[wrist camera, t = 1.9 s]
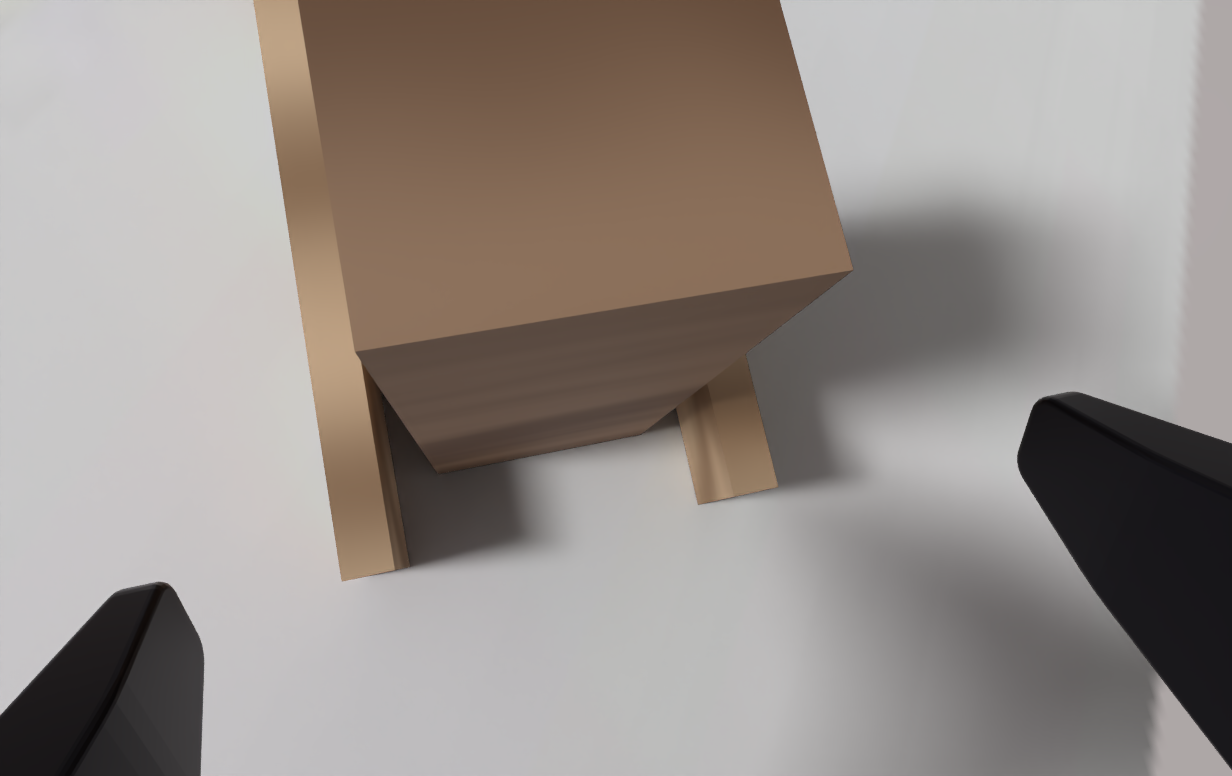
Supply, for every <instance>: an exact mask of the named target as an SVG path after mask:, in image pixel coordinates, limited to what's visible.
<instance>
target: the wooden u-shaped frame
mask: <svg viewBox="0 0 1232 776" xmlns="http://www.w3.org/2000/svg"><path fill="white" fill-rule="evenodd" d="M254 7H255V14H256V20H257V27H258V33H259V40H260V47H261V53H262V60H263V66H264V73H265V80H266V86H267V93H268V99H269V106H270V112H271V119H272V126H273V132H274V139H275V145H276V152H277V159H278V165H279V172H280V178H281V185H282V191H283V198H284V205H285V211H286V218H287V224H288V231H289V238H290V244H291V251H292V257H293V264H294V270H295V277H296V284H297V290H298V297H299V303H300V310H301V317H302V323H303V330H304V336H305V343H306V349H307V356H308V363H309V369H310V376H311V382H312V389H313V396H314V402H315V409H316V415H317V422H318V429H319V435H320V442H321V448H322V455H323V461H324V468H325V475H326V481H327V488H328V494H329V501H330V508H331V514H332V521H333V527H334V534H335V540H336V547H337V554H338V560H339V567H340V573H341V580H342V581H346V580H351V579H356V578H361V577H366V576H371V575H375V574H380V573H385V572H389V571H394V570H398V569H403V568H408V567H410V564H409V558H408V552H407V546H406V540H405V534H404V528H403V522H402V516H401V510H400V504H399V498H398V492H397V486H396V480H395V474H394V468H393V462H392V456H391V450H390V444H389V438H388V432H387V426H386V420H385V413H384V407H383V401H382V395H381V390H380V388H379V387H378V385H377V384H376V382H375V381H374V379H373V378H372V377H371V375H370V374H369V372H368V371H367V369H366V368H365V366H364V365H363V363H362V362H361V360H360V359H359V357H358V356H357V354H356V353H355V350H354V344H353V338H352V332H351V326H350V320H349V313H348V307H347V301H346V295H345V289H344V283H343V276H342V270H341V264H340V258H339V252H338V246H337V240H336V233H335V227H334V221H333V215H332V209H331V203H330V196H329V190H328V184H327V178H326V172H325V166H324V159H323V153H322V147H321V141H320V135H319V129H318V122H317V116H316V110H315V104H314V98H313V92H312V85H311V79H310V73H309V67H308V61H307V55H306V48H305V42H304V36H303V30H302V24H301V18H300V12H299V5H298V0H254ZM676 410H677V414H678V419H679V423H680V428H681V432H682V436H683V441H684V445H685V449H686V454H687V458H688V463H689V467H690V471H691V476H692V480H693V484H694V489H695V493H696V498H697V502H698V505H699V504H704V503H708V502H713V501H717V500H722V499H727V498H731V497H736V496H740V495H745V494H749V493H754V492H758V491H763V490H767V489H772V488H776V487H778V484H777V480H776V476H775V472H774V468H773V464H772V459H771V455H770V451H769V447H768V443H767V439H766V435H765V431H764V427H763V423H762V419H761V415H760V411H759V407H758V403H757V399H756V394H755V390H754V386H753V382H752V378H751V374H750V370H749V366H748V362H747V358H746V354H744V355H743V356H742V357H740V358H739V359H738V360H737V361H735V362H734V363H733V364H731V365H730V366H729V367H727V368H726V369H725V370H724V371H722V372H721V373H720V374H718V375H717V376H716V377H715V378H713V379H712V380H711V381H709V382H708V383H707V384H706V385H704V386H703V387H702V388H700V389H699V390H698V391H696V392H695V393H694V394H693V395H691V396H690V397H689V398H687V399H686V400H685V401H684V402H682V403H681V404H680V405H678V406H677V407H676Z"/></svg>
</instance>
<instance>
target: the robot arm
mask: <svg viewBox="0 0 1232 776" xmlns="http://www.w3.org/2000/svg"><path fill="white" fill-rule="evenodd" d="M1017 463H1018V468H1019V471H1020V474H1021V476H1022V478H1023V479H1024V481H1025V482H1026V484H1027V486H1028V487H1029V489H1030V490H1031V492H1032V494H1033V495H1034V497H1035V498H1036V500H1037V502H1038V503H1039V505H1040V506H1041V508H1042V510H1043V511H1044V513H1045V514H1046V516H1047V518H1048V519H1049V521H1050V522H1051V524H1052V525H1053V527H1054V529H1055V530H1056V532H1057V533H1058V535H1059V537H1060V538H1061V540H1062V541H1063V543H1064V545H1065V546H1066V548H1067V549H1068V551H1069V553H1070V554H1071V556H1072V557H1073V559H1074V560H1075V562H1076V564H1077V565H1078V567H1079V568H1080V570H1081V572H1082V573H1083V575H1084V576H1085V578H1086V579H1087V581H1088V582H1089V584H1090V585H1091V587H1092V588H1093V590H1094V591H1095V592H1096V594H1097V595H1098V596H1099V598H1100V599H1101V600H1102V602H1103V603H1104V605H1105V606H1106V607H1107V609H1108V610H1109V611H1110V612H1111V614H1112V615H1113V616H1114V618H1115V619H1116V620H1117V622H1118V623H1119V624H1120V625H1121V627H1122V628H1123V629H1124V631H1125V632H1126V633H1127V635H1128V636H1129V637H1130V638H1131V640H1132V641H1133V642H1134V644H1135V645H1136V646H1137V648H1138V649H1139V650H1140V651H1141V653H1142V654H1143V655H1144V657H1145V658H1146V659H1147V660H1148V662H1149V663H1150V664H1151V666H1152V667H1153V668H1154V670H1155V671H1156V672H1157V673H1158V675H1159V676H1160V677H1161V679H1162V680H1163V681H1164V683H1165V684H1166V685H1167V686H1168V688H1169V689H1170V690H1171V692H1172V693H1173V694H1174V696H1175V697H1176V698H1177V699H1178V701H1179V702H1180V703H1181V705H1182V706H1183V707H1184V709H1185V710H1186V711H1187V712H1188V714H1189V715H1190V716H1191V718H1192V719H1193V720H1194V722H1195V723H1196V724H1197V725H1198V727H1199V728H1200V729H1201V731H1202V732H1203V733H1204V735H1205V736H1206V737H1207V738H1208V740H1209V741H1210V742H1211V743H1212V745H1213V746H1214V747H1215V749H1216V750H1217V751H1218V752H1219V754H1220V755H1221V756H1222V758H1223V759H1224V760H1225V762H1226V763H1227V764H1228V765H1229V767H1230V768H1231V770H1232V443H1229V442H1226V441H1223V440H1220V439H1217V438H1214V437H1211V436H1208V435H1204V434H1202V433H1199V432H1195V431H1193V430H1190V429H1187V428H1184V427H1181V426H1178V425H1175V424H1172V423H1169V422H1166V421H1163V420H1160V419H1157V418H1154V417H1151V416H1148V415H1145V414H1142V413H1139V412H1137V411H1134V410H1131V409H1128V408H1125V407H1122V406H1119V405H1116V404H1113V403H1110V402H1107V401H1104V400H1101V399H1098V398H1095V397H1092V396H1089V395H1086V394H1083V393H1079V392H1066V393H1061V394H1056V395H1051V396H1046V397H1043V398H1041V399H1039V400H1038V401H1037V402H1036V403H1035V404H1034V406H1033V408H1032V410H1031V413H1030V416H1029V419H1028V423H1027V426H1026V429H1025V432H1024V435H1023V438H1022V441H1021V444H1020V447H1019V450H1018V455H1017ZM203 686H204V653H203V647H202V643H201V640H200V638H199V635H198V633H197V632H196V630H195V628H194V626H193V624H192V622H191V620H190V618H189V616H188V615H187V613H186V611H185V609H184V607H183V605H182V603H181V601H180V599H179V597H178V596H177V594H176V592H175V590H174V589H173V588H172V587H171V586H170V585H169V584H168V583H165V582H155V583H150V584H145V585H140V586H135V587H131V588H126V589H122V590H120V591H117V592H116V593H114V594H113V595H112V596H110V597H109V598H108V599H107V600H106V601H105V603H104V604H103V605H102V606H101V607H100V608H99V609H98V610H97V611H96V612H95V613H94V614H93V616H92V617H91V618H90V619H89V620H88V621H87V622H86V623H85V624H84V625H83V626H82V627H81V628H80V630H79V631H78V632H77V633H76V634H75V635H74V636H73V637H72V638H71V639H70V640H69V641H68V643H67V644H66V645H65V646H64V647H63V648H62V649H61V650H60V651H59V652H58V653H57V654H56V656H55V657H54V658H53V659H52V660H51V661H50V662H49V663H48V664H47V665H46V666H45V667H44V668H43V670H42V671H41V672H40V673H39V674H38V675H37V676H36V677H35V678H34V679H33V680H32V681H31V683H30V684H29V685H28V686H27V687H26V688H25V689H24V690H23V691H22V692H21V693H20V694H19V696H18V697H17V698H16V699H15V700H14V701H13V702H12V703H11V704H10V705H9V706H8V707H7V709H6V710H5V711H4V712H3V713H2V714H1V715H0V776H201V746H202V716H203Z"/></svg>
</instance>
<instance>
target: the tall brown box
mask: <svg viewBox="0 0 1232 776" xmlns="http://www.w3.org/2000/svg"><path fill="white" fill-rule="evenodd" d="M298 5H299V12H300V18H301V24H302V30H303V36H304V42H305V48H306V55H307V61H308V67H309V73H310V79H311V85H312V92H313V98H314V104H315V110H316V116H317V122H318V129H319V135H320V141H321V147H322V153H323V159H324V166H325V172H326V178H327V184H328V190H329V196H330V203H331V209H332V215H333V221H334V227H335V233H336V240H337V246H338V252H339V258H340V264H341V270H342V276H343V283H344V289H345V295H346V301H347V307H348V313H349V320H350V326H351V332H352V338H353V344H354V350H355V353H356V354H357V356H358V357H359V359H360V360H361V362H362V363H363V365H364V366H365V368H366V369H367V371H368V372H369V374H370V375H371V377H372V378H373V379H374V381H375V382H376V384H377V385H378V387H379V388H380V390H381V391H382V393H383V394H384V396H385V397H386V399H387V400H388V402H389V403H390V404H391V406H392V407H393V409H394V410H395V412H396V413H397V415H398V416H399V418H400V419H401V421H402V422H403V424H404V425H405V426H406V428H407V429H408V431H409V432H410V434H411V435H412V437H413V438H414V440H415V441H416V443H417V444H418V446H419V447H420V449H421V450H422V451H423V453H424V454H425V456H426V457H427V459H428V460H429V462H430V463H431V465H432V466H433V468H434V469H435V471H436V472H437V474H442V473H448V472H453V471H458V470H463V469H468V468H473V467H478V466H483V465H488V464H493V463H499V462H504V461H509V460H514V459H519V458H524V457H529V456H534V455H539V454H544V453H550V452H555V451H560V450H565V449H570V448H575V447H580V446H585V445H590V444H595V443H601V442H606V441H611V440H616V439H621V438H626V437H631V436H636V435H641V434H642V433H644V432H645V431H646V430H647V429H649V428H650V427H651V426H653V425H654V424H655V423H656V422H658V421H659V420H660V419H662V418H663V417H664V416H665V415H667V414H668V413H669V412H671V411H672V410H673V409H675V408H676V407H677V406H678V405H680V404H681V403H682V402H684V401H685V400H686V399H687V398H689V397H690V396H691V395H693V394H694V393H695V392H696V391H698V390H699V389H700V388H702V387H703V386H704V385H706V384H707V383H708V382H709V381H711V380H712V379H713V378H715V377H716V376H717V375H718V374H720V373H721V372H722V371H724V370H725V369H726V368H727V367H729V366H730V365H731V364H733V363H734V362H735V361H737V360H738V359H739V358H740V357H742V356H743V355H744V354H746V353H747V352H748V351H749V350H751V349H752V348H753V347H755V346H756V345H757V344H758V343H760V342H761V341H762V340H764V339H765V338H766V337H768V336H769V335H770V334H771V333H773V332H774V331H775V330H777V329H778V328H779V327H780V326H782V325H783V324H784V323H786V322H787V321H788V320H789V319H791V318H792V317H793V316H795V315H796V314H797V313H799V312H800V311H801V310H802V309H804V308H805V307H806V306H808V305H809V304H810V303H811V302H813V301H814V300H815V299H817V298H818V297H819V296H820V295H822V294H823V293H824V292H826V291H827V290H828V289H830V288H831V287H832V286H833V285H835V284H836V283H837V282H839V281H840V280H841V279H842V278H844V277H845V276H846V275H848V274H849V273H850V272H851V271H853V266H852V263H851V259H850V256H849V252H848V248H847V245H846V241H845V237H844V234H843V230H842V226H841V223H840V219H839V215H838V212H837V208H836V205H835V201H834V197H833V194H832V190H831V186H830V183H829V179H828V175H827V172H826V168H825V164H824V161H823V157H822V153H821V150H820V146H819V143H818V139H817V135H816V132H815V128H814V124H813V121H812V117H811V113H810V110H809V106H808V102H807V99H806V95H805V91H804V88H803V84H802V81H801V77H800V73H799V70H798V66H797V62H796V59H795V55H794V51H793V48H792V44H791V40H790V37H789V33H788V30H787V26H786V22H785V19H784V15H783V11H782V8H781V4H780V0H298Z"/></svg>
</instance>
